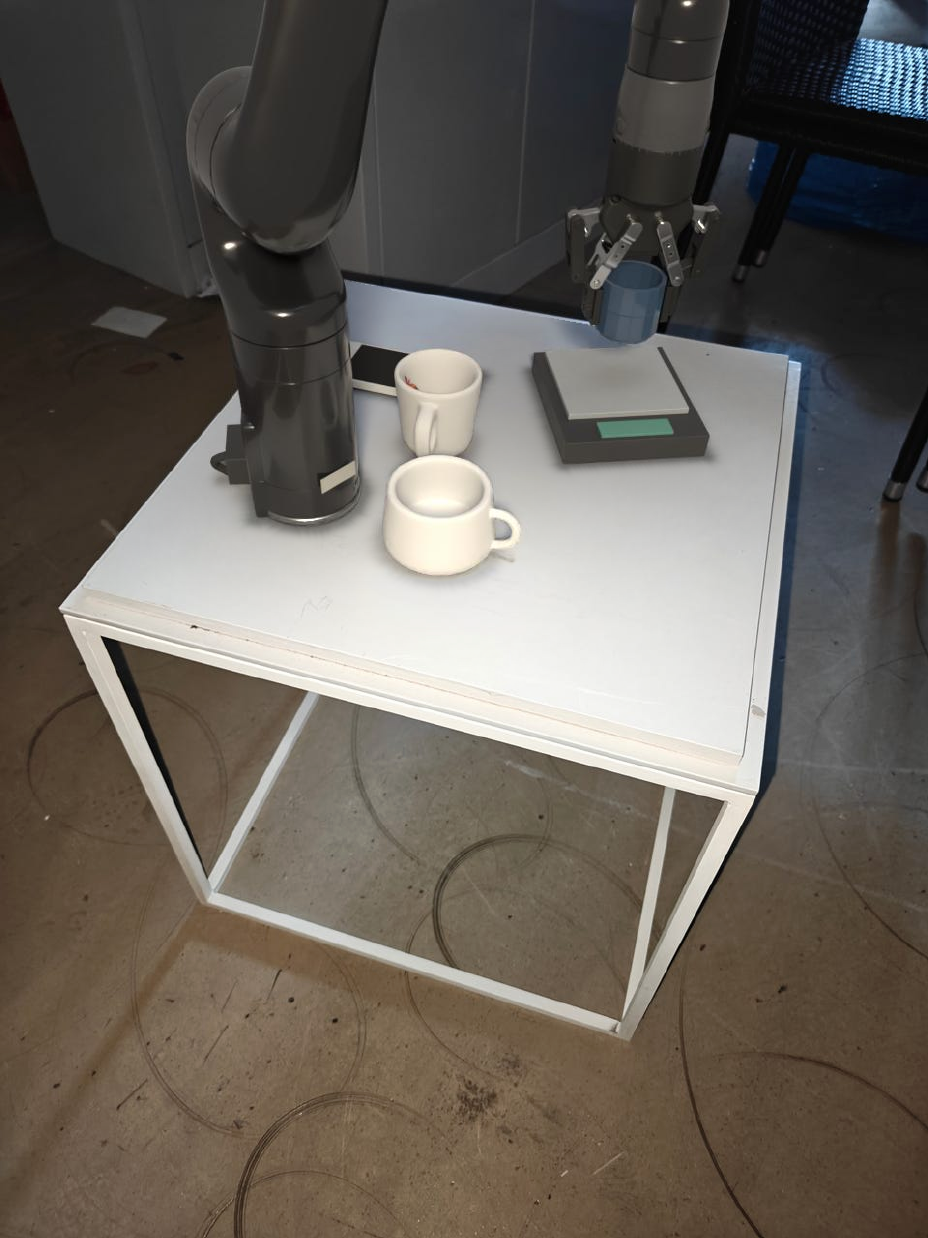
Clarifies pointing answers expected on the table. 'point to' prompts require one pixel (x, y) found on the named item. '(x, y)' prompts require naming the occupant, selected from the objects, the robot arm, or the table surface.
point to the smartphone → (374, 367)
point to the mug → (442, 516)
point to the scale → (617, 405)
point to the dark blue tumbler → (632, 302)
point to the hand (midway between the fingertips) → (625, 318)
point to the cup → (438, 400)
